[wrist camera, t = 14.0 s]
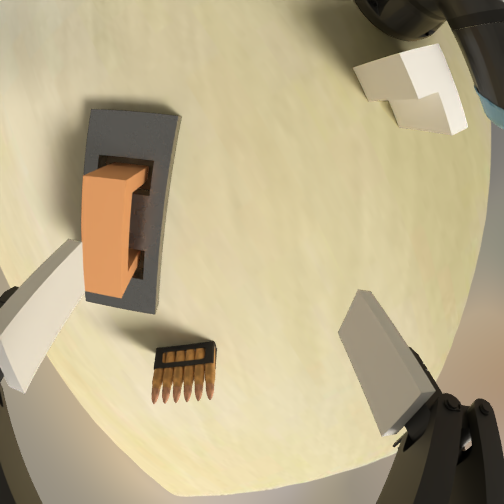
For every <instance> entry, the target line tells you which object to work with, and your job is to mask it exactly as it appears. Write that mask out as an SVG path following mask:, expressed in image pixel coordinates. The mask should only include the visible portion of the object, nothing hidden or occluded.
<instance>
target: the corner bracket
mask: <svg viewBox="0 0 504 504" xmlns="http://www.w3.org/2000/svg"><path fill="white" fill-rule="evenodd" d="M353 70H354V72H355V74H356V76H357V78H358V80H359V82H360V84H361V86H362V88H363V91H364V93H365V95H366V97H367V99H368V102H370V101H384V100H388V101H389V103H390V105H391V108H392V110H393V113H394V116H395V118H396V121H397V124H398V126H399V128H405V129H414V130H421V131H428V132H435V133H441V134H447V135H454V134H456V133H458V132H460V131H462V130H464V129H466V128H468V125H467V121H466V117H465V114H464V110H463V107H462V104H461V101H460V97H459V94H458V91H457V88H456V86H455V83H454V80H453V77H452V75H451V72H450V69H449V67H448V64H447V62H446V59H445V57H444V55H443V52H442V50H441V48H440V45H439V43H438V44H433V45H429V46H425V47H420V48H416V49H412V50H408V51H405V52H401V53H397V54H394V55H390V56H387V57H384V58H381V59H377V60H374V61H371V62H368V63H365V64H362V65H359V66H356V67H353Z"/></svg>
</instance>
